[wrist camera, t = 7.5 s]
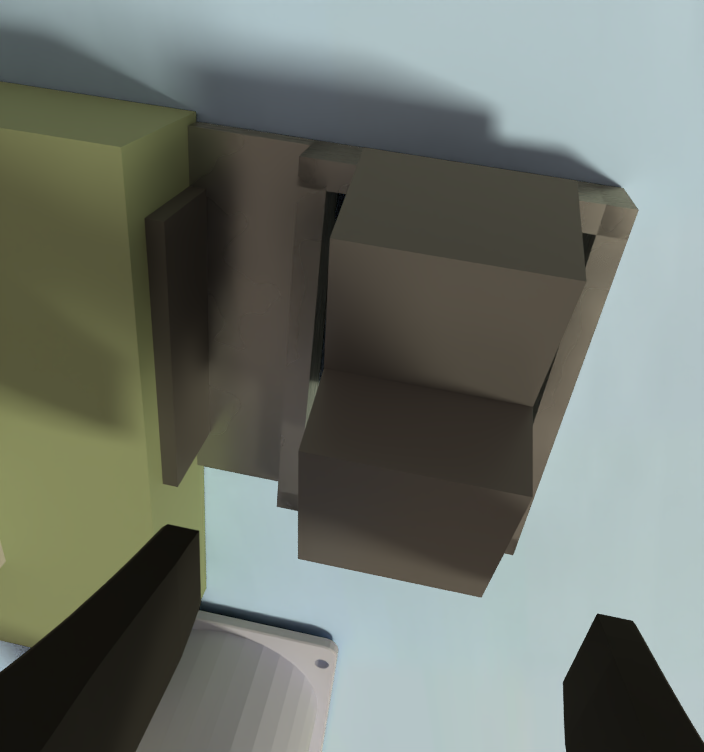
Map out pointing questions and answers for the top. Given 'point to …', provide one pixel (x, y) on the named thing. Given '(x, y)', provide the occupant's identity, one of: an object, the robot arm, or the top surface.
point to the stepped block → (435, 366)
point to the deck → (95, 345)
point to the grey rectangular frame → (325, 295)
